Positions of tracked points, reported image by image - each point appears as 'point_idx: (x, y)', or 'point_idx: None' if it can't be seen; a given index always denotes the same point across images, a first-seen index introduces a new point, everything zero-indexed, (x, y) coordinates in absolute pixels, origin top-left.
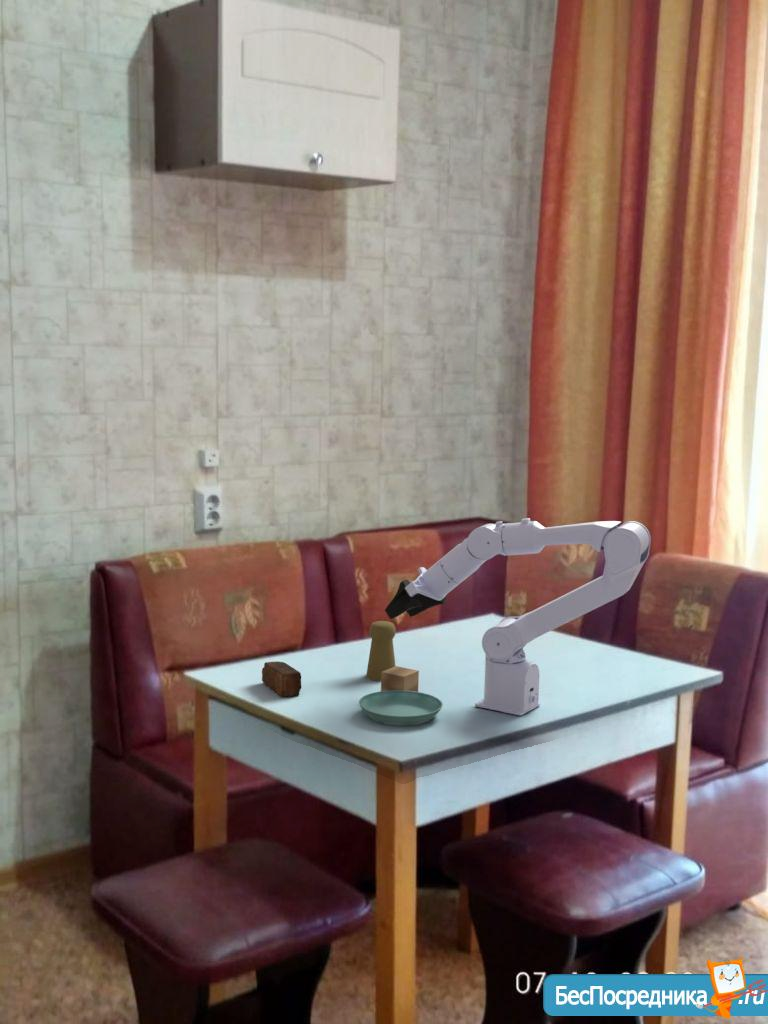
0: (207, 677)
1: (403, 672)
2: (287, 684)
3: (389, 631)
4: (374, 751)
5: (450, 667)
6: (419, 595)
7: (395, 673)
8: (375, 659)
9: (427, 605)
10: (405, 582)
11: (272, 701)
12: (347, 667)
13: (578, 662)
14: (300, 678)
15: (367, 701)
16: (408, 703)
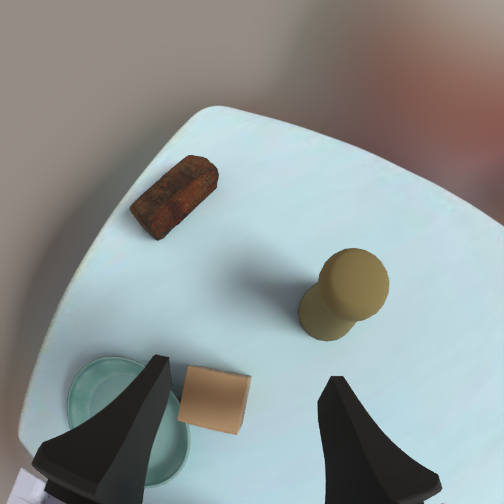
0: (199, 120)
1: (206, 410)
2: (138, 220)
3: (338, 313)
4: (22, 408)
5: (437, 385)
6: (352, 450)
7: (190, 397)
8: (309, 300)
9: (328, 478)
10: (50, 477)
11: (126, 223)
12: (345, 234)
13: (500, 490)
14: (149, 228)
15: (128, 365)
16: (178, 425)
